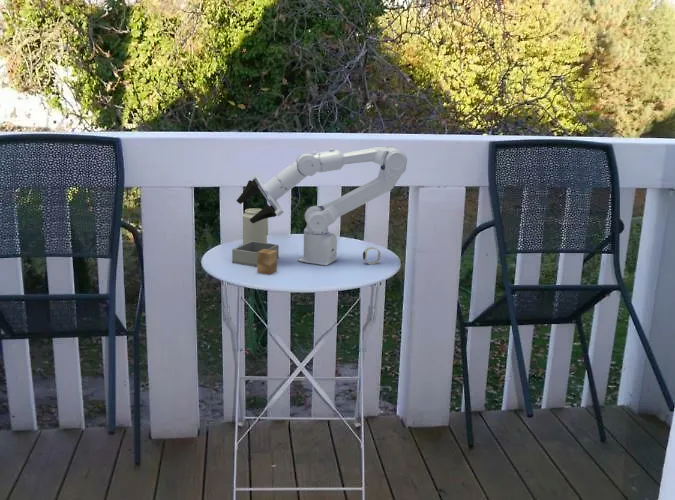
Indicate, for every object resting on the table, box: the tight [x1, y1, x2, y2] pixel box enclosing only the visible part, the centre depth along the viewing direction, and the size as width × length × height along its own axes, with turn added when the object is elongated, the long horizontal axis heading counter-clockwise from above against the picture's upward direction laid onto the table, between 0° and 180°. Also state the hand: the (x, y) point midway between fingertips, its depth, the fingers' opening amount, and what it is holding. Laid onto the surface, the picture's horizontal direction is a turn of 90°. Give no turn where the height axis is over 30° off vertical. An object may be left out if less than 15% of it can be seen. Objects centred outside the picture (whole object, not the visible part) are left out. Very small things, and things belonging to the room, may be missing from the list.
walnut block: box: [256, 249, 278, 276], centre depth 204 cm, size 4×4×6 cm
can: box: [242, 208, 268, 245], centre depth 227 cm, size 8×8×12 cm
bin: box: [231, 241, 280, 268], centre depth 215 cm, size 9×11×4 cm
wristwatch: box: [362, 246, 381, 265], centre depth 214 cm, size 3×5×5 cm, turn 104°
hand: (244, 211), depth 210 cm, fingers open, 7 cm apart
